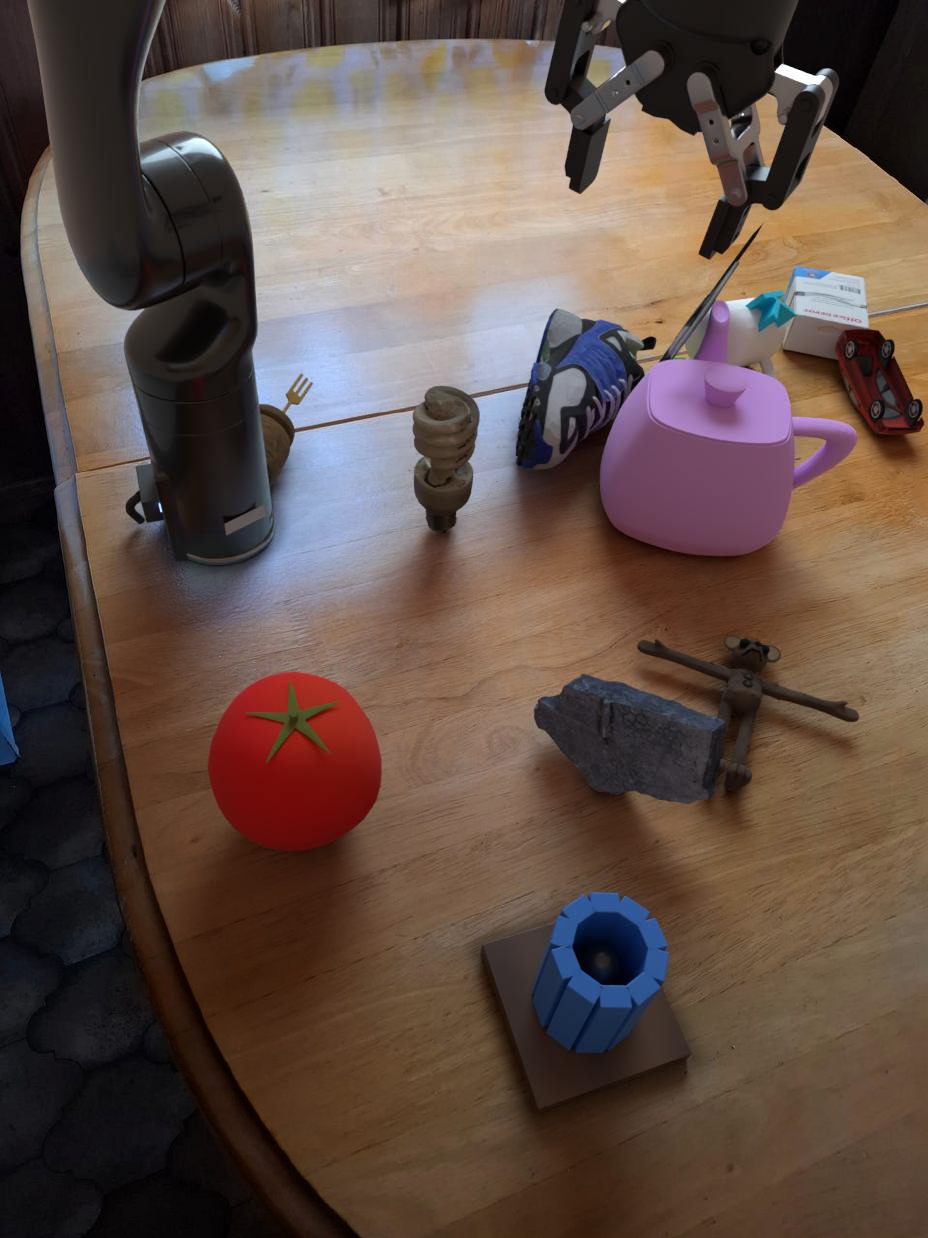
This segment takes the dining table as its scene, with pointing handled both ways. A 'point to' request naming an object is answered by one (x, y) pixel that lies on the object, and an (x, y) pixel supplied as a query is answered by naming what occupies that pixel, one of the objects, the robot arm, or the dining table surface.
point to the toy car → (877, 382)
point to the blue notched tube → (580, 1000)
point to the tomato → (294, 762)
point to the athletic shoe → (575, 386)
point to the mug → (750, 331)
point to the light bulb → (444, 453)
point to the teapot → (710, 453)
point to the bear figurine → (745, 694)
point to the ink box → (823, 310)
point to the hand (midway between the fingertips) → (644, 217)
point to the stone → (634, 740)
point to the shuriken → (704, 306)
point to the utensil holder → (279, 430)
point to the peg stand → (564, 1071)
